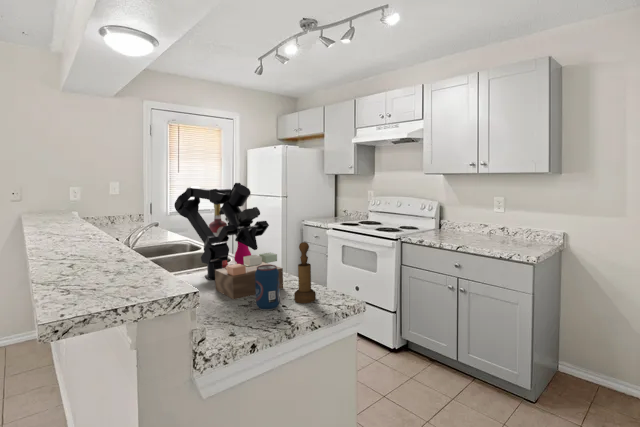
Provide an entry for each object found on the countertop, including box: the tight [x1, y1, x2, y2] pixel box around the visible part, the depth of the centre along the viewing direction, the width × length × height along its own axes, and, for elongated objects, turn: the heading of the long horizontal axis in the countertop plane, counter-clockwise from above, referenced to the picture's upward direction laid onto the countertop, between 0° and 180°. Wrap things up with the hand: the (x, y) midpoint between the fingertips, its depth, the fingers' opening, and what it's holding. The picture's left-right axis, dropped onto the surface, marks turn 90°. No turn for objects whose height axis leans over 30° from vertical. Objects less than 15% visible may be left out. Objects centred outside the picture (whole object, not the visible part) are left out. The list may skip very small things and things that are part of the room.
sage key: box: [258, 252, 278, 264], centre depth 128 cm, size 4×4×2 cm
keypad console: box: [214, 262, 284, 300], centre depth 127 cm, size 14×18×7 cm
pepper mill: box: [233, 236, 252, 265], centre depth 157 cm, size 7×7×20 cm
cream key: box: [244, 254, 262, 266], centre depth 124 cm, size 4×4×2 cm
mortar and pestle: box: [293, 241, 317, 304], centre depth 114 cm, size 7×6×18 cm
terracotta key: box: [226, 263, 246, 276], centre depth 120 cm, size 4×4×2 cm
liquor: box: [208, 204, 229, 268], centre depth 158 cm, size 7×7×28 cm
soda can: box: [255, 264, 281, 311], centre depth 108 cm, size 7×7×12 cm
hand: (256, 249), depth 127 cm, fingers closed
